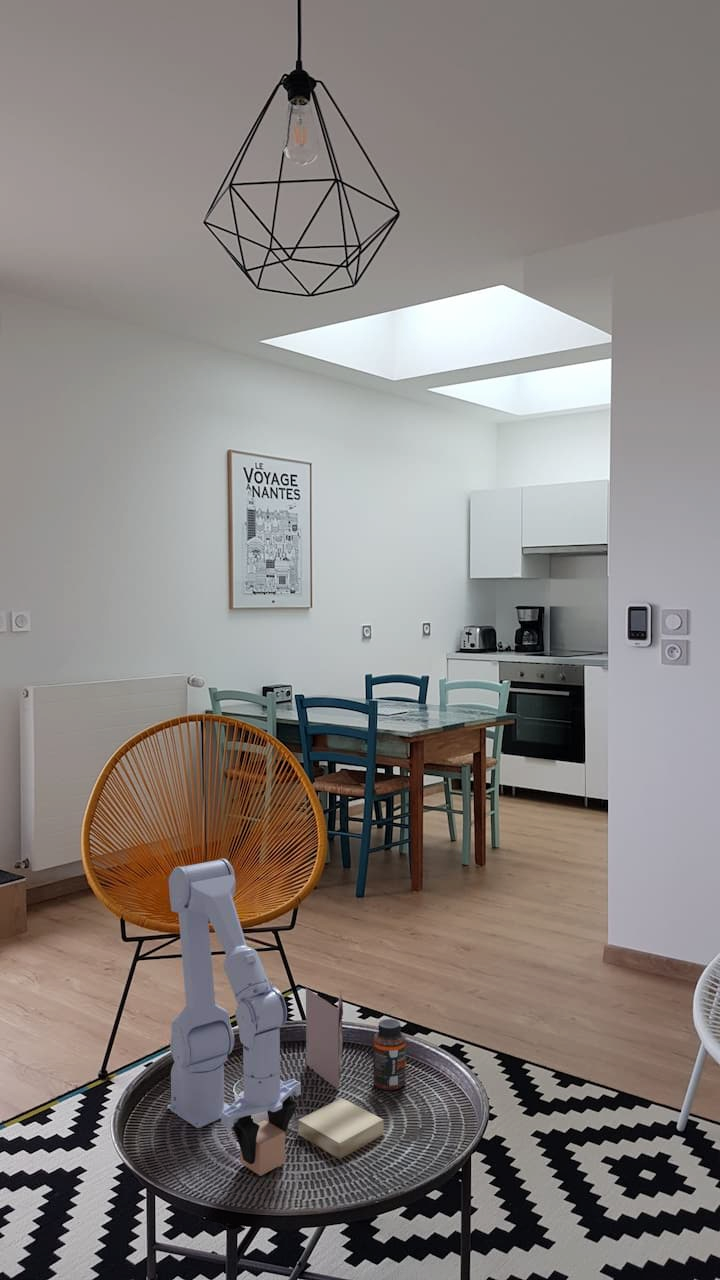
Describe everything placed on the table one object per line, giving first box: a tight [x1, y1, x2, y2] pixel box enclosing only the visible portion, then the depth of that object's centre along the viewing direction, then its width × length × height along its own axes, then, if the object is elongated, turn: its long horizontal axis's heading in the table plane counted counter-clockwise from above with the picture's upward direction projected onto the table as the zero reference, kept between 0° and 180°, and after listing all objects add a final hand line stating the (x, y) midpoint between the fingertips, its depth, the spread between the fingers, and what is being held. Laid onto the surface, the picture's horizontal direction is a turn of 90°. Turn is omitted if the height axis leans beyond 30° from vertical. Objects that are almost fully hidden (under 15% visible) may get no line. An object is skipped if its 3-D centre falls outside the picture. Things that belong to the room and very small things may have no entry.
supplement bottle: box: [372, 1018, 407, 1091], centre depth 183 cm, size 6×6×11 cm
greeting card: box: [305, 984, 344, 1091], centre depth 186 cm, size 11×7×15 cm, turn 178°
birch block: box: [297, 1097, 384, 1160], centre depth 166 cm, size 10×10×3 cm
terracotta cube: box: [239, 1119, 286, 1177], centre depth 157 cm, size 5×5×5 cm
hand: (262, 1153), depth 157 cm, fingers closed on terracotta cube, 5 cm apart
